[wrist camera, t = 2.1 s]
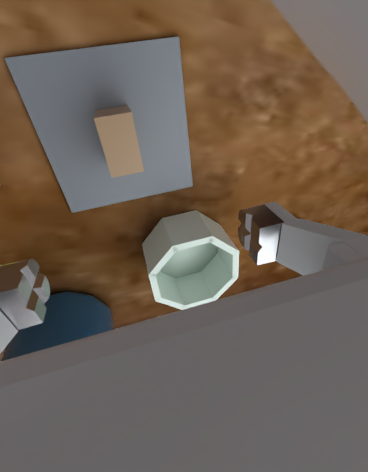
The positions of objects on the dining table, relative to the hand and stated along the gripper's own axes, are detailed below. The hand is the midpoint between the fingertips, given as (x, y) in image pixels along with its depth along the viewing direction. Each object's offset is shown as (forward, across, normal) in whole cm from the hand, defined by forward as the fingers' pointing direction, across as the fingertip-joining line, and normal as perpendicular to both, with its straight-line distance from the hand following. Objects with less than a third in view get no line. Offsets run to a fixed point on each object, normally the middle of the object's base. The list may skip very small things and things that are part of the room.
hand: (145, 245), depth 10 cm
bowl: (+19, -5, +16) cm, 25 cm away
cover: (+19, 0, 0) cm, 19 cm away
